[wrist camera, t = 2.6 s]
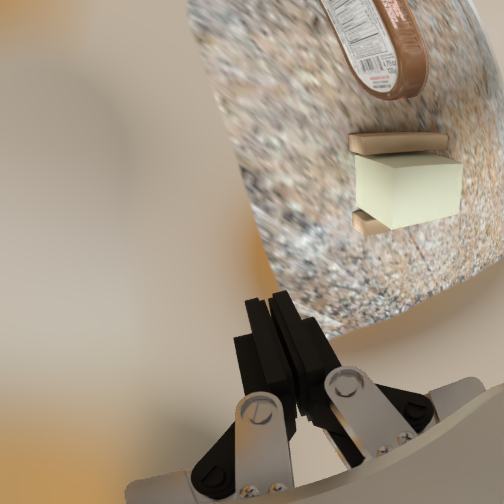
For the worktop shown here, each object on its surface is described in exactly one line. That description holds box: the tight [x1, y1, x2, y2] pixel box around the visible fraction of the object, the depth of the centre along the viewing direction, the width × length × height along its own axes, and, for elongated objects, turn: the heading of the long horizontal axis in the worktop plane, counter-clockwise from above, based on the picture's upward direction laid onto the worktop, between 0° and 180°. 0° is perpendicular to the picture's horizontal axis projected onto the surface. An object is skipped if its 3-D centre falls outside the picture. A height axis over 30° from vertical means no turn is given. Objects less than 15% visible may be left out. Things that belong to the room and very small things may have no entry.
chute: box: [348, 132, 448, 237], centre depth 23 cm, size 9×11×2 cm
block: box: [355, 151, 463, 230], centre depth 21 cm, size 5×9×6 cm, turn 99°
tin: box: [319, 0, 429, 101], centre depth 13 cm, size 15×3×8 cm, turn 23°
